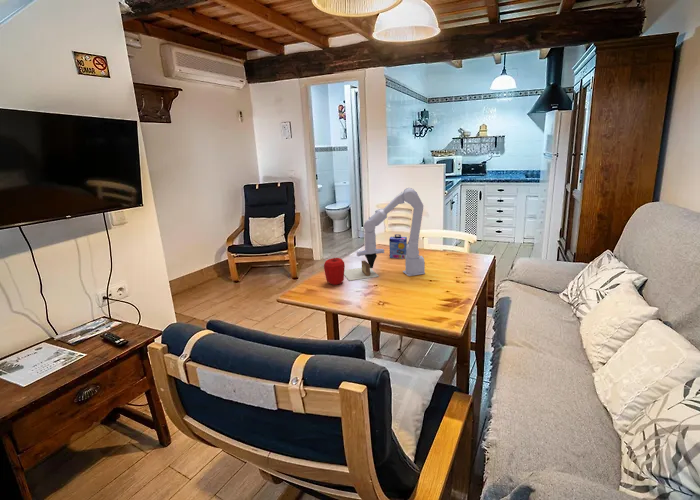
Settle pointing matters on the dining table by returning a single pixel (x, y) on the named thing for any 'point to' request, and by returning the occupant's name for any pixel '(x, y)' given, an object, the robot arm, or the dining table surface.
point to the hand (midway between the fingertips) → (371, 267)
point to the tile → (366, 268)
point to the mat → (358, 274)
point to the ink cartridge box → (398, 246)
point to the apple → (334, 270)
